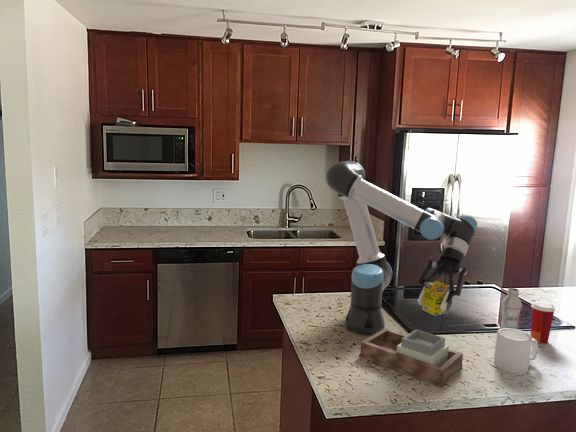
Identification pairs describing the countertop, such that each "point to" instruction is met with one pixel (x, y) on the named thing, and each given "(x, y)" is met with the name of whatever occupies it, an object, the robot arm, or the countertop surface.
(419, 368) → the tray
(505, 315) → the plastic bottle
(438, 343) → the stepped square pedestal
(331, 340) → the countertop surface
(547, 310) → the paper cup
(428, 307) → the supplement box
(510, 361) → the mug
